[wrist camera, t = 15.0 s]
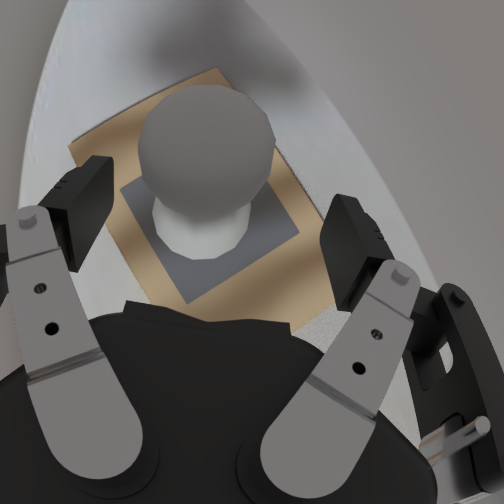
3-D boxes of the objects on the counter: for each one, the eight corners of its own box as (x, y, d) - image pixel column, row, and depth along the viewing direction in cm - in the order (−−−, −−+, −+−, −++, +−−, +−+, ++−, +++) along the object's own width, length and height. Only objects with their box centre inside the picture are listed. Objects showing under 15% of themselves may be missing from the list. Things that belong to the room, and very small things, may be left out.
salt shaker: (167, 170, 21) (142, 44, 8) (250, 184, 22) (314, 75, 9) (150, 254, 21) (83, 214, 8) (236, 269, 21) (294, 251, 9)
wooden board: (356, 283, 23) (360, 283, 23) (208, 385, 21) (208, 388, 20) (216, 70, 23) (216, 66, 23) (69, 148, 21) (67, 145, 20)
